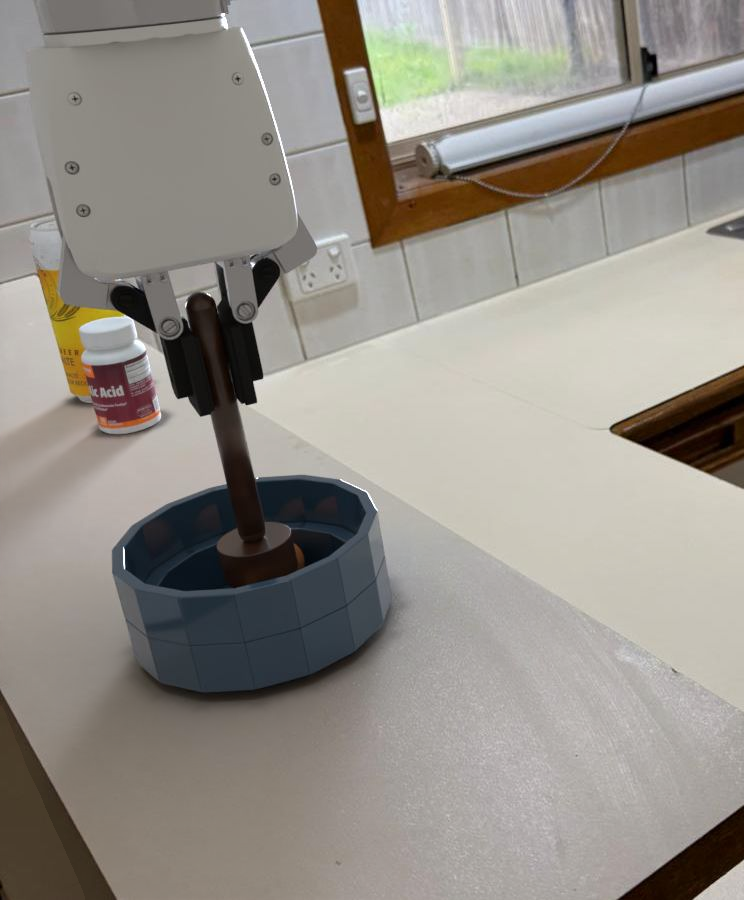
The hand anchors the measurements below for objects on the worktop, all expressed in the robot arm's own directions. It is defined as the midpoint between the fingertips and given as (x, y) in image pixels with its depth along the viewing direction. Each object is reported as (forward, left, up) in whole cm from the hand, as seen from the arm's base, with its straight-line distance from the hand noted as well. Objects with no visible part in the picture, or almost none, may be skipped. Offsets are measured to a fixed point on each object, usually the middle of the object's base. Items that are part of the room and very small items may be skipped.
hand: (222, 400), depth 56 cm
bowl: (0, 0, -13) cm, 13 cm away
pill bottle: (-20, +32, -13) cm, 40 cm away
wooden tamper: (0, 0, -10) cm, 10 cm away
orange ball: (0, +4, -11) cm, 12 cm away
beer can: (-25, +40, -13) cm, 49 cm away
